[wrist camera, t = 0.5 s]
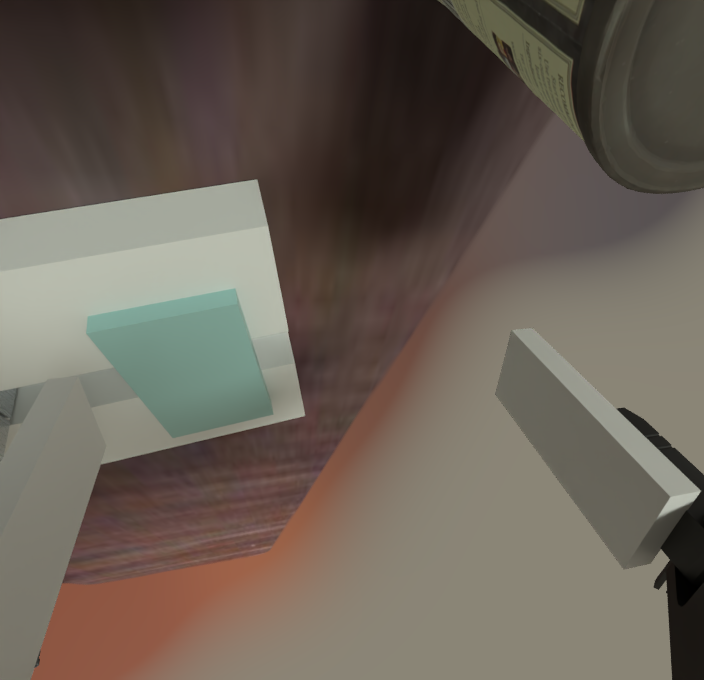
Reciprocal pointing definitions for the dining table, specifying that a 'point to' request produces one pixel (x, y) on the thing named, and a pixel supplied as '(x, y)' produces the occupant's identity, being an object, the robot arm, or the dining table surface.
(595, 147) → the coffee can
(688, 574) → the robot arm
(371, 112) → the dining table surface
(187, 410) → the cover
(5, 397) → the t key
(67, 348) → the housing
